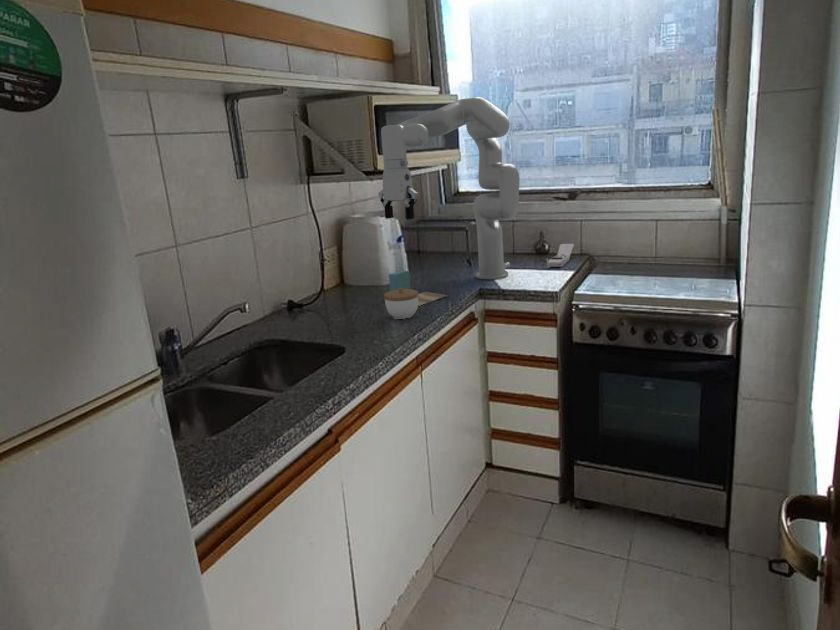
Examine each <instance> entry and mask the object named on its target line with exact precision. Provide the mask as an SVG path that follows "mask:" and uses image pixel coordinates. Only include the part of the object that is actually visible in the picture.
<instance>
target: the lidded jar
mask: <svg viewBox="0 0 840 630" xmlns="http://www.w3.org/2000/svg"><path fill="white" fill-rule="evenodd" d="M418 294H419V291H418V290H416V289H402V288H399V290H393V291H390V290H389V291H387V292H386V293H384V295H383V298H384V304H385V307H386V311H387V313H388V314H389V315H390V316H392V318H393V319H394V320H397V319H404V320H406V319H405V318H409V319H411V318H410V317H412V316H413V317H414V315H415V314H416V313H417V310H418V308H419V307H418ZM413 317H412V318H413Z"/></svg>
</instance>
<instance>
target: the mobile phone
mask: <svg viewBox="0 0 840 630" xmlns="http://www.w3.org/2000/svg"><path fill="white" fill-rule="evenodd" d="M574 245H575V244H574V243H561V244H560V245H559V246H558V247H559V248H558V251H557V254H556V255H555V256H553V257H551V258H550V259H548V261H547V266H546V269H550V268H562V267H564V266H565V265H566V264H567V263H568V262H569V261H570V258H571V254H572V251H573V249H574Z"/></svg>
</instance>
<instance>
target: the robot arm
mask: <svg viewBox="0 0 840 630" xmlns="http://www.w3.org/2000/svg"><path fill="white" fill-rule="evenodd" d="M465 125H466V126H465ZM463 126H465V127H466V132H467V134H468V135H469V136H470V137H471V138H472V140H473V141H474V143H475V144H476V146H477V148H478V176H477V177H478V185H479V187H480V188H481V189H483V190H490V191H499V193H482V194H479V195H478V196H476V197H475V198H474V201H473V203H472V209H473V215H474V218H475V223H476V231H477V233H476V234H477V235H476V236H477V238H476V239H477V252H478V253H477V254H478V255H477V257H478V268H479V269H478V272H476V273H475V278H477V279H479V280H499V279H503V278H507V277H508V276H509V272H508V271H507V270H506V269H507V268H509V267H511V262H509V261H508V262H504V240H503V235H504V234H503V229H502V224H501V223H500V221H509V220H510V221H511V220H512V219H514V218H515V216H516V215H517V213H518V209H519V197H520V195H519V194H520V178H521V177H520V174H519V170H518V168H517V167H516V165H514V164H513V163H507V162H503V148H502V145H501V143H500V141H499V139H498V138H502V137H505V136H506V135H507V134H508V132H509V131H510V121H509V118H508V116H507V115H506V113H504V112H503V111H502V110H501V109H500V108H499V107H497V106H496V105H494V104H493V103H492V102H490V101H488V100H487V99H486V98H483V97H481V96H475V97H468V98H467V97H466V98H461V99H458V100H454V101H453V102H450V103H448V104H446V105H444V106H442V107H439V108H437V109H435V110H432V111H429V112H426V113H423V114H421V115H418V116H414V117H412V118H410V119H406V120H405V121H402V122H399V123H398V124H391V125H384V126H382V128H381V130H380V132H381V134H380V135H381V147H382V149H381V150H382V158H383V172H382V174H383V175H382V190H380V191H379V192H378V197H379V200H380V202H381V204H382V206H383V207H384V216H385V217H384V218H385V219H386V220H388V219H393V218H394V211H393V210H394V207H393V205H392V204H393V203H394V202H403V203H404V205H405V206H406V207H405V208H404V209H405V211H404V212H405V219H406V220H414V218H415V210H414V207H415V205H416V203H417V199H418V196H419V192H417V191H416V190H414V185H413V184H414V183H413V179H412V174H411V171H410V168H408V166H409V162H408V158H407V149H414V148H421V147H423V146H424V145H426V143H428V141H429V138H435V137H440V136H444V135H446V134H449V133H450V132H453V131H454V130H456V129H459V128H461V127H463Z"/></svg>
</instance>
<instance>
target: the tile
mask: <svg viewBox="0 0 840 630" xmlns="http://www.w3.org/2000/svg"><path fill="white" fill-rule="evenodd" d="M388 281H389V291H393V290H399V288H402V289H411V278H410V270H400V271H396V272H392V273H389V274H388Z"/></svg>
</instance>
